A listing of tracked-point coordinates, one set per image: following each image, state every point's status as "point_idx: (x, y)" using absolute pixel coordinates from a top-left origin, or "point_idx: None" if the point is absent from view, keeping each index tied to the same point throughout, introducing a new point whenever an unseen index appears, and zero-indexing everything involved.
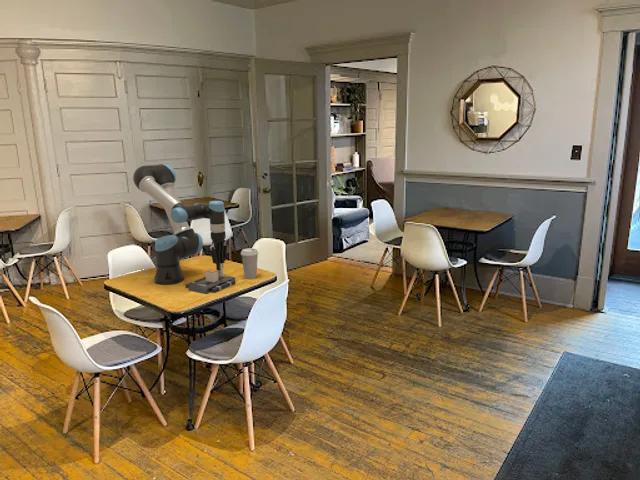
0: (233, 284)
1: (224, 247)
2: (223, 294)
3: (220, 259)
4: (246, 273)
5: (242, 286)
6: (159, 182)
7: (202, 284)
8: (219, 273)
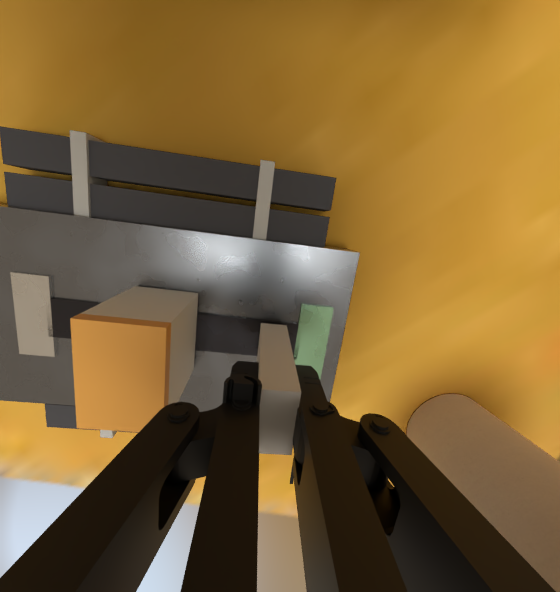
0: None
1: None
2: (74, 466)
3: (302, 473)
4: (422, 451)
5: None
6: None
7: (42, 314)
8: (257, 358)
